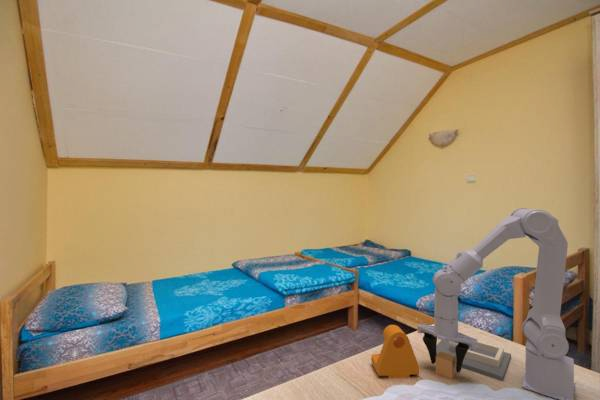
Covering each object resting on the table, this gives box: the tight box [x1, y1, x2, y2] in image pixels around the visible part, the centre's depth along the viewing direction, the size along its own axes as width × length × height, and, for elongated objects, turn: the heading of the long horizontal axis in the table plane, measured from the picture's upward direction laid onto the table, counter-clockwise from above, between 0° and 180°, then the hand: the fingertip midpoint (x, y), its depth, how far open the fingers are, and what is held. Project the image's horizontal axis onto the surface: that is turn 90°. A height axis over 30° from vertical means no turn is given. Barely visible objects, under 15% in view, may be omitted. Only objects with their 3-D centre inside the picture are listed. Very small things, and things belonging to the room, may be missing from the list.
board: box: [436, 340, 512, 381], centre depth 90 cm, size 18×15×4 cm
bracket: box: [371, 324, 420, 379], centre depth 83 cm, size 11×7×12 cm, turn 94°
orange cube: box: [435, 351, 457, 379], centre depth 82 cm, size 4×4×4 cm
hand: (445, 366), depth 82 cm, fingers open, 6 cm apart
